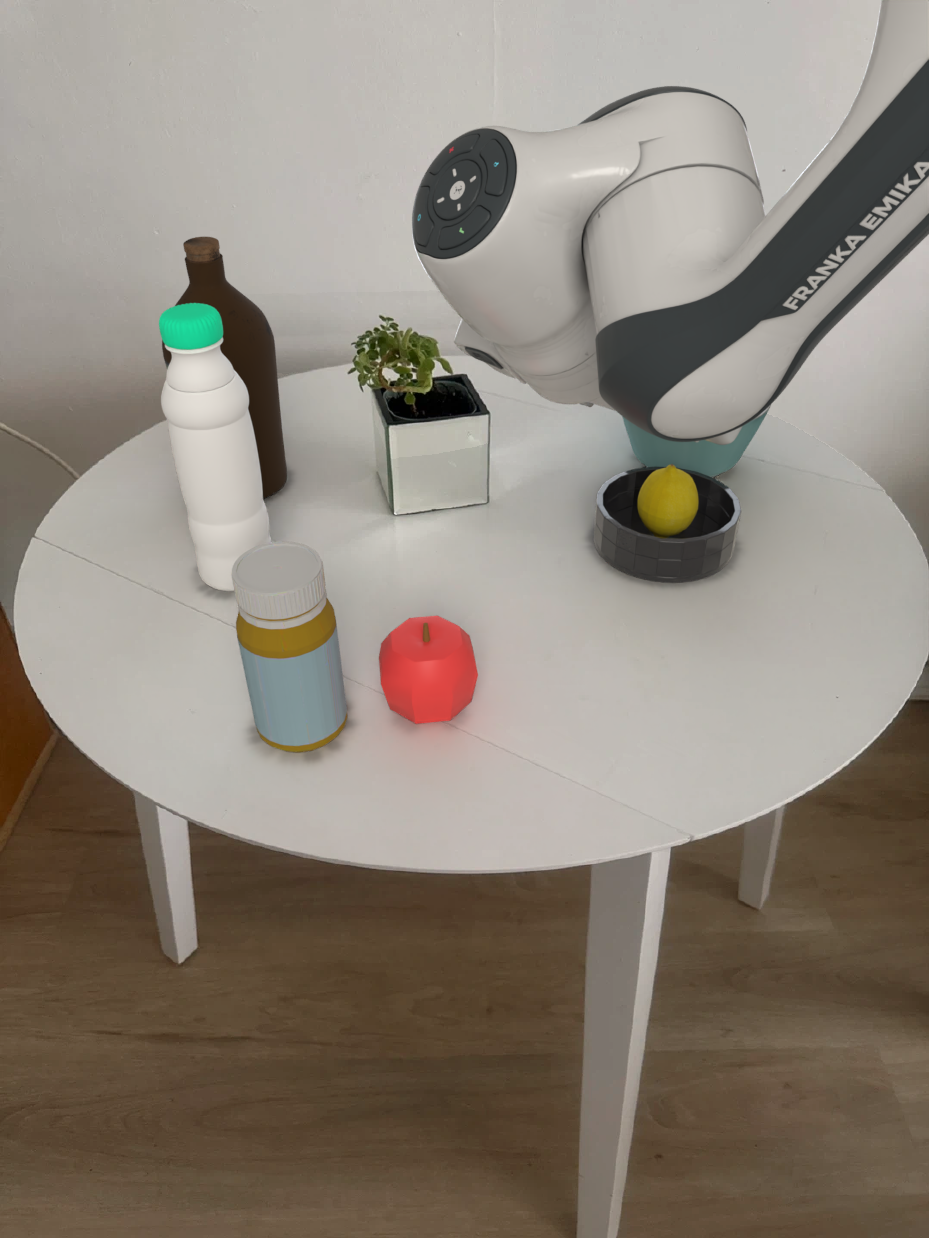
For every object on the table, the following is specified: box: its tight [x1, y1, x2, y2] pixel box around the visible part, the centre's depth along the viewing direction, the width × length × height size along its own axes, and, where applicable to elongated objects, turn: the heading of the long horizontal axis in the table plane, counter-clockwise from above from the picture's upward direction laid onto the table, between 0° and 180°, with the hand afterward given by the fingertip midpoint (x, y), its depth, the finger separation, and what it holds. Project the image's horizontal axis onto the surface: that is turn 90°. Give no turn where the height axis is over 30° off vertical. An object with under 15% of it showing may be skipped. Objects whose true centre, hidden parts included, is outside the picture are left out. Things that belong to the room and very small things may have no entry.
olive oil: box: [161, 236, 288, 500], centre depth 98 cm, size 11×11×25 cm
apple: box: [378, 615, 479, 725], centre depth 76 cm, size 8×8×8 cm
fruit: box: [638, 464, 698, 538], centre depth 93 cm, size 6×6×8 cm
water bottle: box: [158, 303, 273, 592], centre depth 85 cm, size 7×7×25 cm
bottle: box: [231, 540, 348, 754], centre depth 72 cm, size 7×7×15 cm
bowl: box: [621, 404, 772, 478], centre depth 105 cm, size 16×16×8 cm
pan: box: [593, 466, 742, 584], centre depth 94 cm, size 13×13×4 cm
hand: (640, 413), depth 76 cm, fingers open, 8 cm apart
